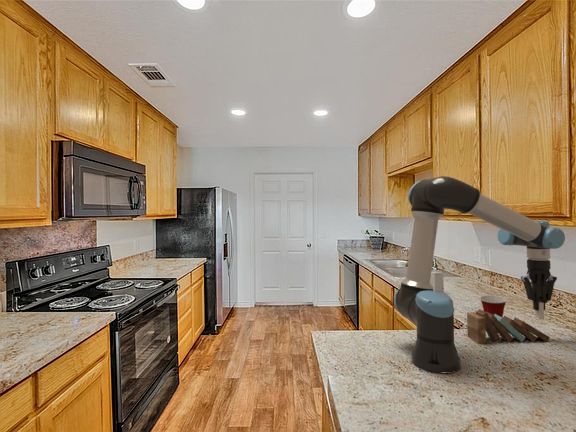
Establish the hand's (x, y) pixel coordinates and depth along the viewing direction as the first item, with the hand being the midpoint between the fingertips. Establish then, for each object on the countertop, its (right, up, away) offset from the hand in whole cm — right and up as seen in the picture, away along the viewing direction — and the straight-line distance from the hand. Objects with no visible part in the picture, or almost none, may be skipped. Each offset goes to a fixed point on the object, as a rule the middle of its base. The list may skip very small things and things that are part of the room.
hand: (539, 318), depth 134 cm
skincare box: (-9, -9, +73) cm, 75 cm away
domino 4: (-3, -8, 0) cm, 8 cm away
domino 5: (+2, -8, 0) cm, 8 cm away
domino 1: (-17, -8, 0) cm, 19 cm away
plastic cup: (-7, -9, +19) cm, 22 cm away
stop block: (-25, -9, 0) cm, 26 cm away
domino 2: (-13, -8, 0) cm, 15 cm away
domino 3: (-8, -8, 0) cm, 11 cm away
